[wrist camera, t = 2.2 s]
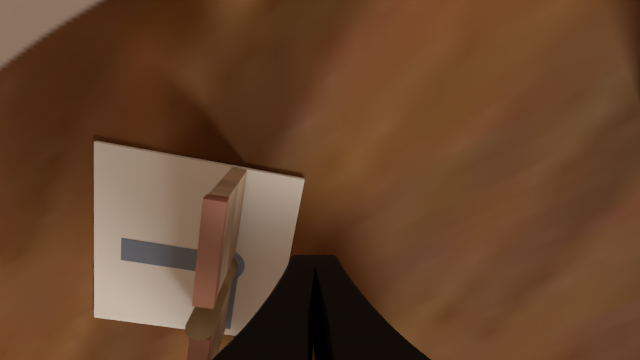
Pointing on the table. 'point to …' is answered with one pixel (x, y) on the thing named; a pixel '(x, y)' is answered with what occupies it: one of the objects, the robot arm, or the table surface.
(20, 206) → the table surface
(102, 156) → the card
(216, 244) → the folding panel
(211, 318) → the fixed panel
